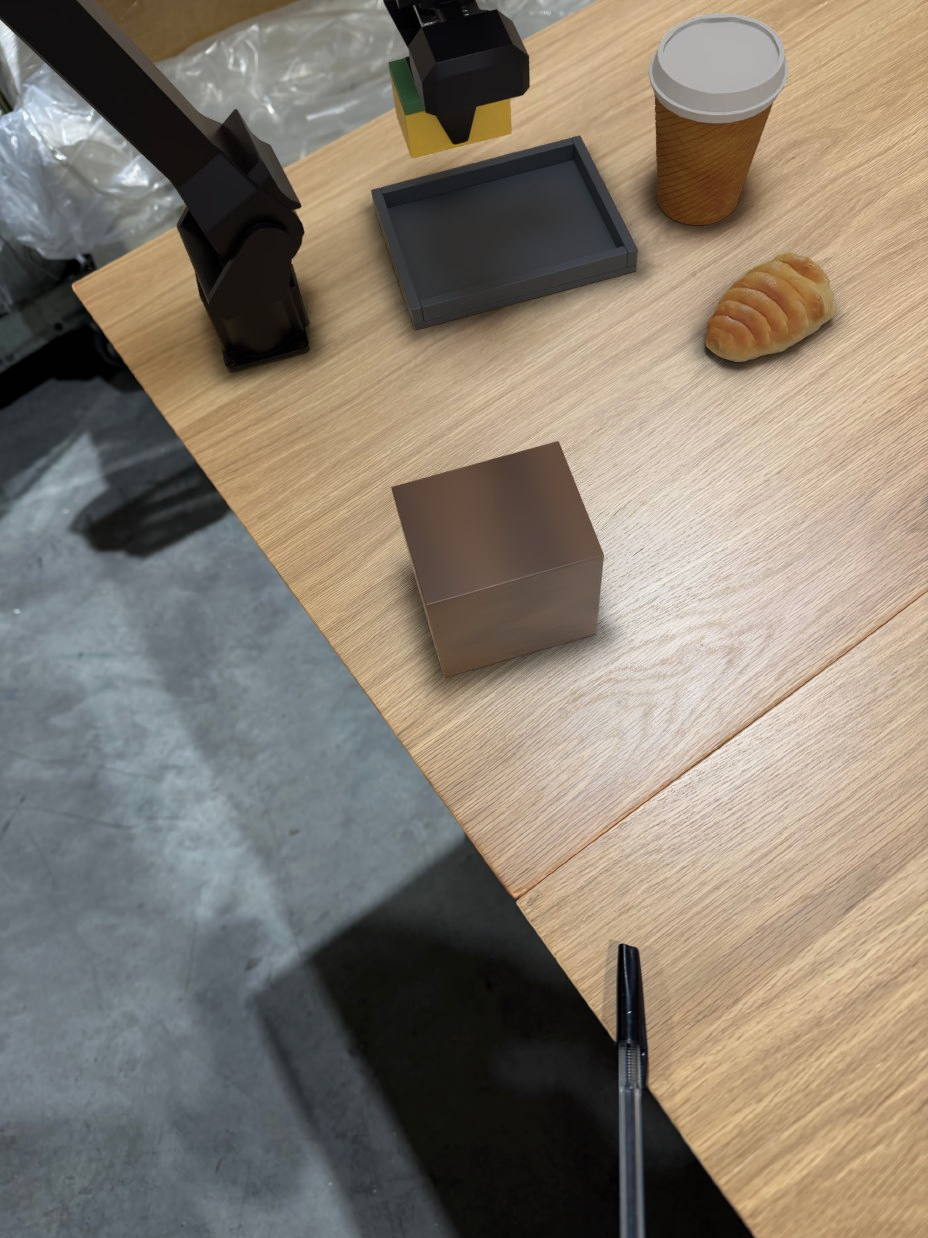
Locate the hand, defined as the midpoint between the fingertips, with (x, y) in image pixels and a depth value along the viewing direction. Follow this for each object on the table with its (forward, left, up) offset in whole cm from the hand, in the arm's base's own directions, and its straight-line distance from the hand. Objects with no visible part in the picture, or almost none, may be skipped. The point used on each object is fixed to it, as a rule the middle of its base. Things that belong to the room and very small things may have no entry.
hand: (451, 119), depth 65 cm
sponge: (0, 0, 0) cm, 1 cm away
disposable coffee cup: (+19, 0, -12) cm, 23 cm away
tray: (+3, +1, -12) cm, 12 cm away
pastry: (+19, -14, -12) cm, 27 cm away
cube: (-6, -30, -12) cm, 33 cm away
